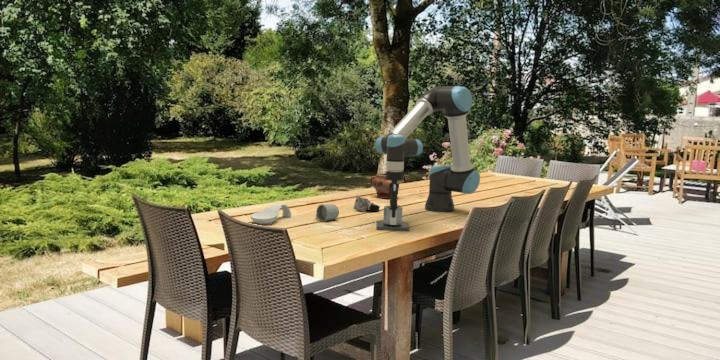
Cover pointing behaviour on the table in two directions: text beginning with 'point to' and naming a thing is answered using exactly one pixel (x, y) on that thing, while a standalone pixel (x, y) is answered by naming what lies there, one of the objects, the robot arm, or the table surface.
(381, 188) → the decorative planter
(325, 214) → the ceramic mug
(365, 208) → the caster wheel
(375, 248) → the table surface
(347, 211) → the table surface
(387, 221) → the tube
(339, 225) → the table surface
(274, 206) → the spoon rest
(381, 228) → the shaft block
